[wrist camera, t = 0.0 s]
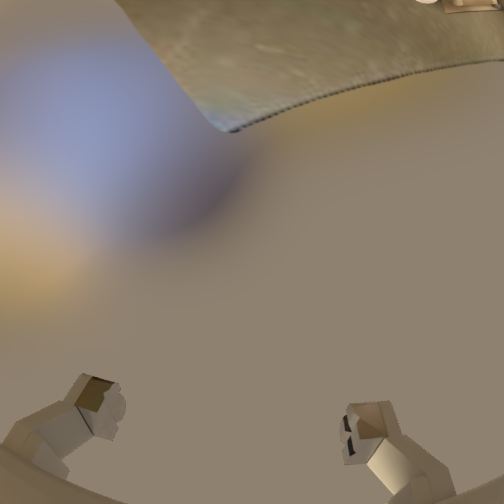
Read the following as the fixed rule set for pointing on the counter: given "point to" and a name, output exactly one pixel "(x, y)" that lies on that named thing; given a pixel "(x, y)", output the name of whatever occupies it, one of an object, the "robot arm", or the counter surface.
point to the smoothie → (426, 1)
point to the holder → (469, 5)
